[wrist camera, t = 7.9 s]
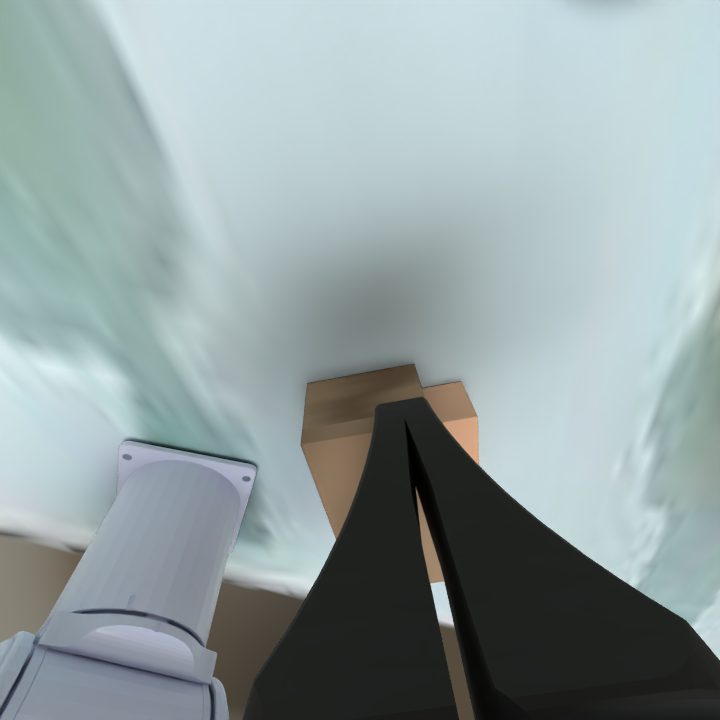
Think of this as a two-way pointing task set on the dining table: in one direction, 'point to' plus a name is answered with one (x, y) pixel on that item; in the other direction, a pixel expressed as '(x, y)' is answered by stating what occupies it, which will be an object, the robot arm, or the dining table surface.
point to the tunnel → (354, 440)
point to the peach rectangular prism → (456, 414)
